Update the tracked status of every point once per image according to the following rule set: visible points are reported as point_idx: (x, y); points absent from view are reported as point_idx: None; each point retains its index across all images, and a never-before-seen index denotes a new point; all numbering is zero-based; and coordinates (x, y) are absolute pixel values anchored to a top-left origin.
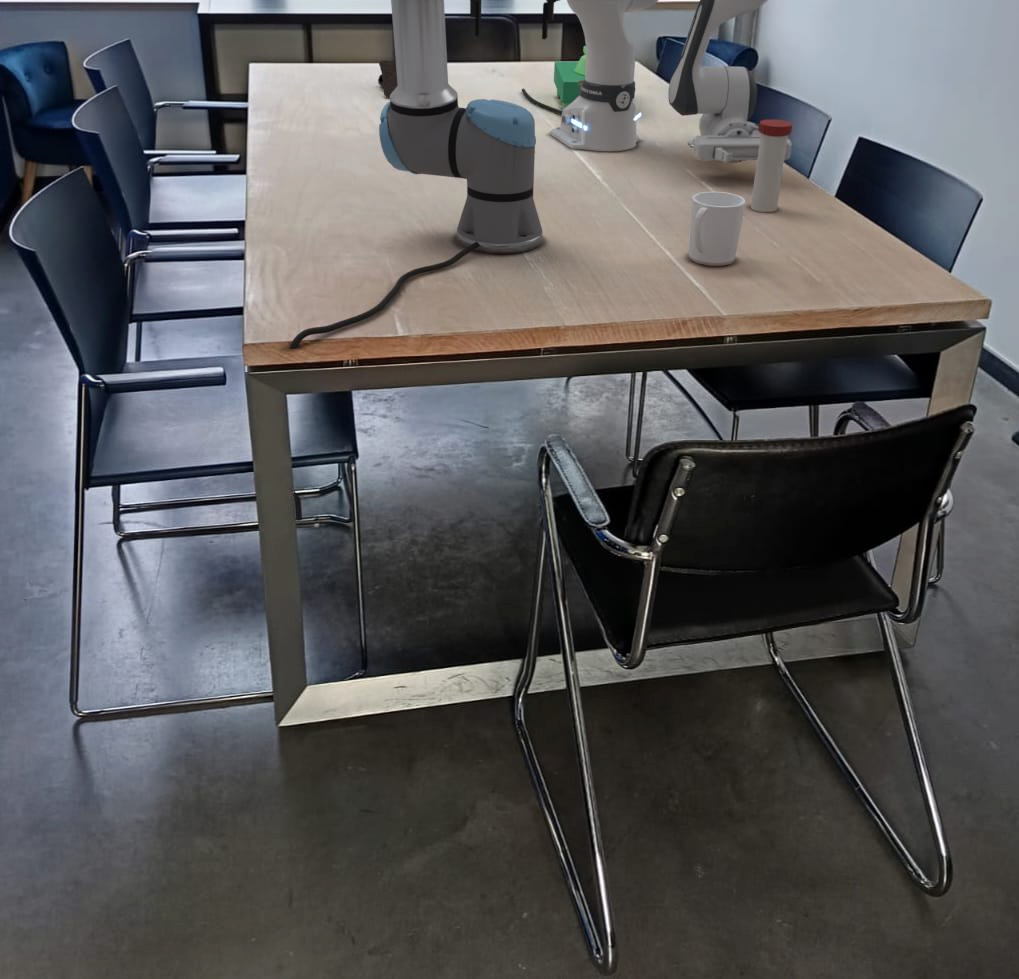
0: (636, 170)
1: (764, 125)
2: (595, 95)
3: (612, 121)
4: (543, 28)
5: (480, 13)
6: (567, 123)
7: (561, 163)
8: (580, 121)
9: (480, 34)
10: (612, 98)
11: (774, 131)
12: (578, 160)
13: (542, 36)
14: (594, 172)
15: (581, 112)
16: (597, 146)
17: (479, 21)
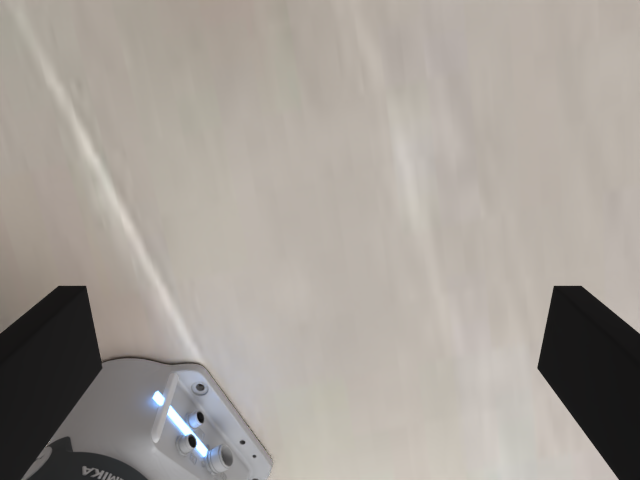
0: (15, 228)
1: None
2: (104, 468)
3: (83, 415)
4: (33, 322)
5: (633, 449)
6: (217, 446)
7: (203, 249)
8: (174, 427)
9: (542, 346)
10: (55, 460)
11: None
12: (169, 282)
13: (73, 293)
14: (107, 189)
15: (165, 442)
16: (139, 366)
17: (605, 366)
